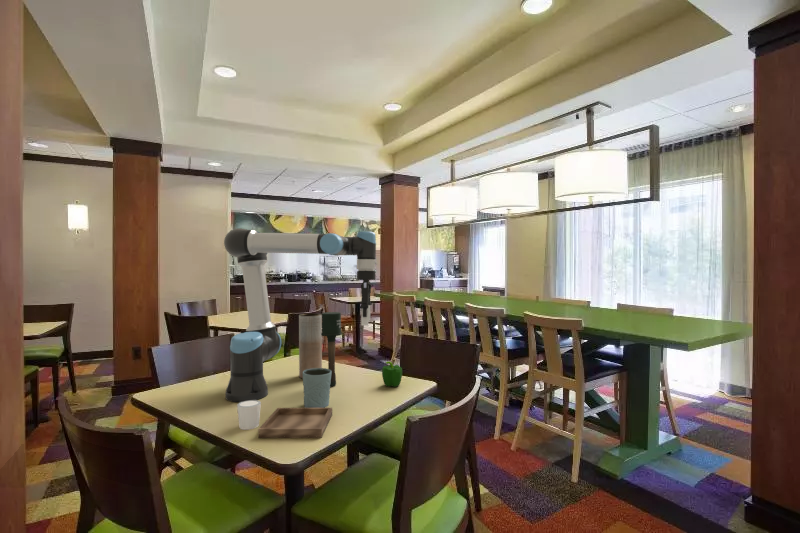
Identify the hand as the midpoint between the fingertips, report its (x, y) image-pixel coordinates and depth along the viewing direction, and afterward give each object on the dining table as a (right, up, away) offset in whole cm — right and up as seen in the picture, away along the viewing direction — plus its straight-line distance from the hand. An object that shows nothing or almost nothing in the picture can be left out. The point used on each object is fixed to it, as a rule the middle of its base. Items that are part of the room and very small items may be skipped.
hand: (365, 323), depth 164 cm
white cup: (-33, -26, -39) cm, 57 cm away
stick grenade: (-14, -27, +4) cm, 31 cm away
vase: (-26, -27, +19) cm, 42 cm away
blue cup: (-16, -27, -20) cm, 36 cm away
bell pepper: (+11, -27, +4) cm, 29 cm away
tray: (-18, -26, -39) cm, 50 cm away
